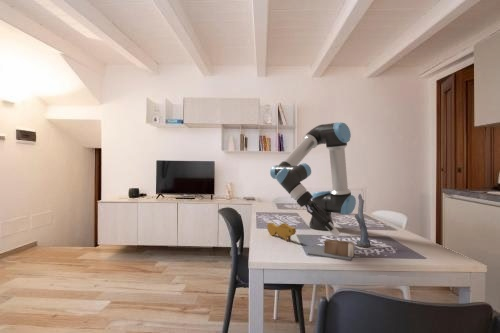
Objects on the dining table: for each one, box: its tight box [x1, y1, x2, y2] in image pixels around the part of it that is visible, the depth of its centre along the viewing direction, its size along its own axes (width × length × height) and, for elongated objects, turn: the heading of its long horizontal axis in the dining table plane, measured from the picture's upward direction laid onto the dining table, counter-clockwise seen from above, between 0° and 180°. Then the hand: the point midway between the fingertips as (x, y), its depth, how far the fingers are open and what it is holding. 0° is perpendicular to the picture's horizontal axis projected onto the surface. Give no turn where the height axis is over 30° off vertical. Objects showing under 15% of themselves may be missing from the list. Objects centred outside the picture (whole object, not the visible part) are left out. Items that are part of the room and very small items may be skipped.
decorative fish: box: [266, 222, 297, 242], centre depth 150 cm, size 22×3×10 cm, turn 32°
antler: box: [354, 193, 372, 248], centre depth 140 cm, size 12×8×25 cm
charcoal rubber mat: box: [307, 244, 353, 261], centre depth 126 cm, size 14×18×1 cm
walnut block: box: [323, 238, 355, 258], centre depth 123 cm, size 5×5×12 cm
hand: (338, 235), depth 123 cm, fingers closed
